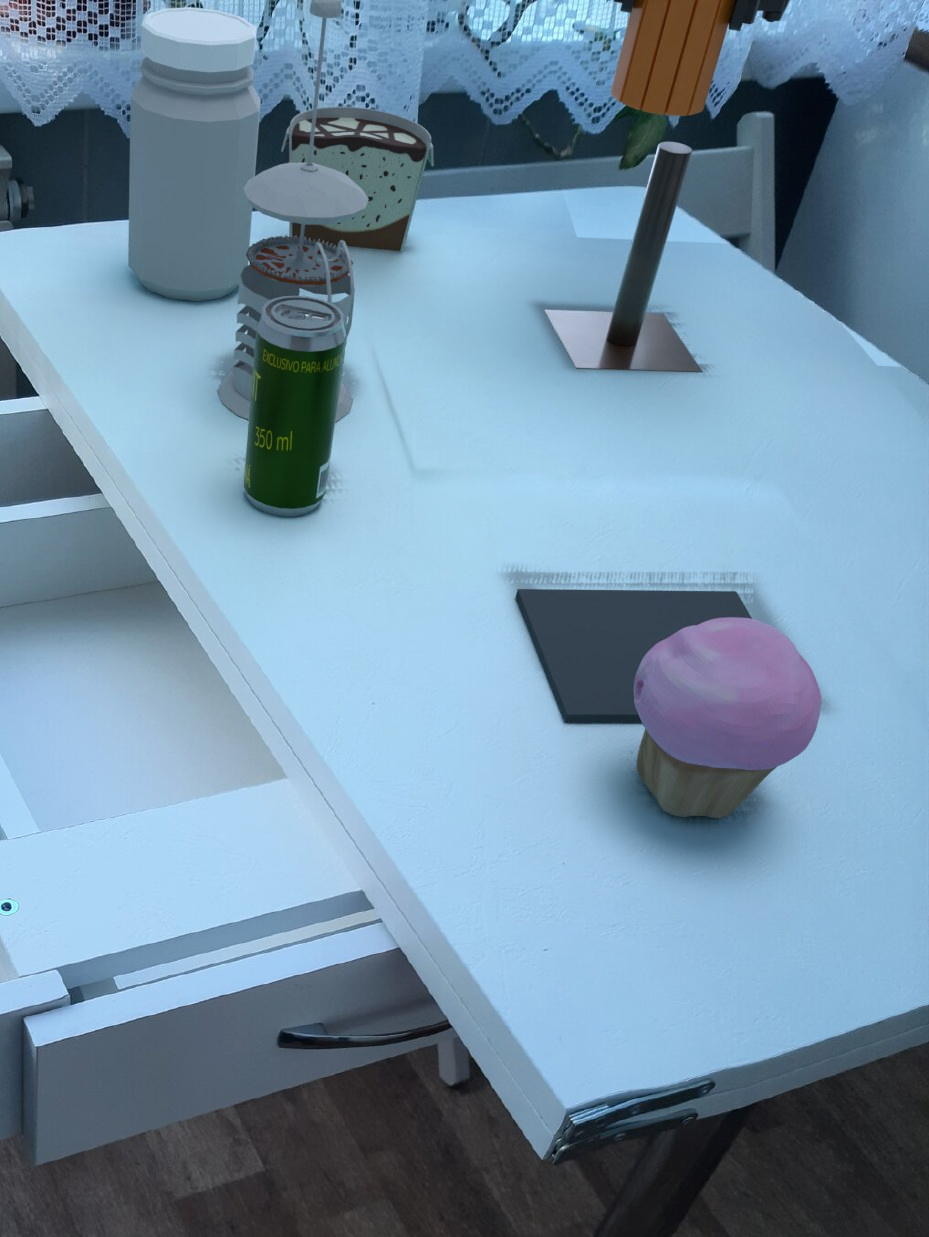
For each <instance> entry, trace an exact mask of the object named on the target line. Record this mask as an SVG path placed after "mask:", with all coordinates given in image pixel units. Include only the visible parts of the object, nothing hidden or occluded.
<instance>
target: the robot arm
mask: <svg viewBox="0 0 929 1237" xmlns="http://www.w3.org/2000/svg"><path fill="white" fill-rule="evenodd" d="M612 2H614V3H620V4H621V6H620V10H619V11H620V12H623V13H628V14H630V13H631V12H632V8H633V4H634V0H612ZM790 2H791V0H735V4H734V7H733V11H732V14H731V17H730V21H729V24H728V30H729V31H736V32H741V30H742V26H743V24H744V25H752V24H754V23H755V20H756V16H757V13H758V12H762V13H761V16H760V17H761V18H762V19H763V20H765V21H766V22H767V23H774V22H780V21H781V19H782V17H783V16H784V14H785V12H786V9H787V8H788V6H789V4H790Z"/></svg>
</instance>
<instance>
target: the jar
mask: <svg viewBox="0 0 929 1237" xmlns="http://www.w3.org/2000/svg"><path fill="white" fill-rule="evenodd" d="M140 32H141V33H140V53H142V54H143V55H144V56H145V57H144V58H143V59H142V62H141V65H140V68H139V73H141V77H140V78H139V79H138V81H137V82H136V84H135V85H134V86H133V89H132V92H131V95H130V105H129V106H130V108H129V110H130V111H129V112H130V113H129V114H130V115H129V116H130V118H129V177H128V179H129V180H128V182H129V183H128V184H129V185H128V186H129V187H128V190H129V192H128V198H129V199H128V243H127V244H128V248H127V249H128V252H127V253H128V256H127V266H128V268H129V269H130V270H131V272H132V273H133V274H134V276H135V277H136V279H137V280H138V281H139V282H140V284H142V285H143V286H144V287H145V288H146V289H147V290H148V291H149V292H151V293H155V294H157V295H159V296H163V297H165V298H168V299H170V300H171V299H172V300H182V301H190V302H201V301H202V302H203V301H209V300H215V299H217V300H218V299H222V298H223V297H225V296H227V295H228V294H231V293H232V292H234V291H236V290H237V289H238V288H239V283H240V275H241V273H242V271H243V269H244V267H246V266H248V265H249V260H248V258H247V256H246V254H247V251H248V249H249V247H250V246H251V245H250V244H251V232H252V220H253V207H252V206H250V204H249V202H248V200H247V198H246V195H245V193H244V190H243V188H244V187H245V185H246V183H247V182H248V180H250V179H251V178H253V177H255V176H256V167H257V154H258V142H259V141H258V140H259V126H260V115H261V102H262V99H261V98H260V96H259V94H258V92H257V90H256V89H255V87H254V85H253V81H254V76H255V70H254V68H252V67H251V66H252V65H254V62H255V56H256V45H257V33H258V28H257V27H256V25H254V24H252V23H251V22H250V21H248V20H246V18H243V17H242V16H239V15H237V14H233V13H229V12H226V11H223V10H222V11H221V10H219V9H211V8H210V9H209V8H200V7H192V6H188V7H170V8H169V7H168V8H162V9H159V10H156V11H153V12H150V13H148V14H146V15H144V17H143V19H142V22H141V25H140Z"/></svg>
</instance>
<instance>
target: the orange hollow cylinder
mask: <svg viewBox="0 0 929 1237" xmlns="http://www.w3.org/2000/svg"><path fill="white" fill-rule="evenodd" d="M734 4H735V0H634V4H633V8H632V12H631V13H629V17H628V21H627V25H626V28H625V33H624V38H623V40H622V45H621V48H620V53H619V57H618V62H617V64H616V70H615V73H614V77H613V82H612V85H611V90H610V94H611V96H612V97H613V98H614V99H615V100H616V101H618V102H619V103H621V104H622V105H624V106H627V107H630V108H632V109H635V110H637V111H640V110H641V111H642V112H644V113H650V114H654V115H655V114H656V115H659V116H660V115H661V116H664V115H666V116H669V117H671V116H674V117H686V116H693V115H696V114H699V113H702V112H703V111H704V109H705V106H706V103H707V99H708V96H709V91H710V88H711V85H712V82H713V79H714V75H715V72H716V68H717V65H718V62H719V58H720V55H721V51H722V48H723V44H724V42H725V37H726V34H727V30H728V29H729V21H730V17H731V14H732V11H733V7H734Z"/></svg>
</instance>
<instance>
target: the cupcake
mask: <svg viewBox="0 0 929 1237" xmlns="http://www.w3.org/2000/svg"><path fill="white" fill-rule="evenodd" d="M634 704H635V707H636V710H637V712H638V714H639V717H640V719H641V721H642V725H643V727H644V731H643V734H642V738H641V741H640V744H639V748H638V752H637V757H636V765H635V766H636V771H637V774H638V776H639V778H640V780H641V781H642V783H643V784H644V785H645V787H646V789H647V790H648V791H650V793H651V794H652V796H653V798H655V800H656V801H657V804H658V806H659V808H660V809H661V810H662V811H664V812H666V813H668V814H669V815H672V816H675V817H680V818H688V817H699V816H702V817H708V818H712V819H725V818H726V817H729V816H731V815H732V813H734V812H735V811H736V810H737V809H738V808H739V807H740V806H741V805H742V804H743V803H744V802H745V800H747V798H748V797H749V796H750V795H751V794H752V793H753V792H754V791H755V790H756V789H757V787H759V785H760V784H761V783H762V782H763V781H764V780H765V779H766V778H767V777H768V776H769V775H770V774H771V773H772V772H773V771H774V770H776V769H777V768H778V767H780V766H783V765H784V764H787V763H788V762H790V761H792V760H793V759H796V757H798V756H799V755H801V754H802V753H803V752H804V751H805V750H806V749H807V748H808V746H809V745H810V743H811V742H812V740H813V737H814V736H815V733H816V731H817V727H818V723H819V719H820V714H821V709H822V708H821V707H822V694H821V689H820V686H819V683H818V681H817V679H816V676H815V674H814V671H813V670H812V668H811V666H810V664H809V663H808V661H807V660H806V659H805V658H804V657H803V656H802V655H801V654H800V653H799V651H798V649H797V647H796V646H795V644H794V643H793V641H791V639H790V638H788V636H787V635H786V634H784V633H783V632H782V631H780V630H779V629H777V627H774V626H773V625H770V624H768V623H766V622H764V621H761V620H758V619H754V618H752V619H750V618H734V617H727V618H716V619H711V620H708V621H706V622H703V623H701V624H699V625H693V626H689V627H685V628H683V629H681V630H679V631H678V632H676V633H674V634H673V635H671V636H670V637H668V638H667V639H664V640H662V641H660V642H659V643H657V644H656V645H655V646H654V647H652V648H651V649H650V650H649V651H648V652H647V654H646V655H645V656H644V657H643V659H642V661H641V663H640V665H639V668H638V670H637V673H636V676H635V680H634Z"/></svg>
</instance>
